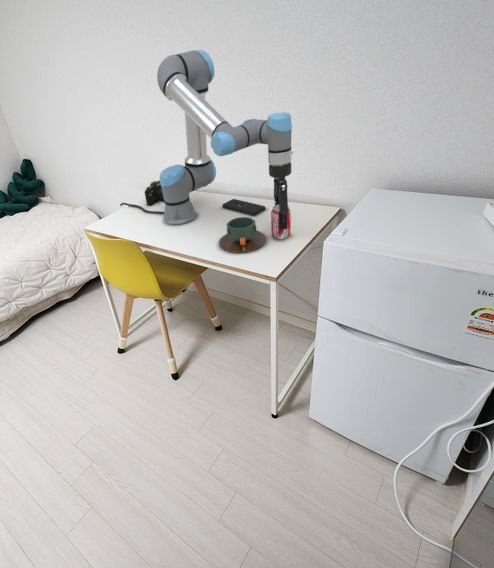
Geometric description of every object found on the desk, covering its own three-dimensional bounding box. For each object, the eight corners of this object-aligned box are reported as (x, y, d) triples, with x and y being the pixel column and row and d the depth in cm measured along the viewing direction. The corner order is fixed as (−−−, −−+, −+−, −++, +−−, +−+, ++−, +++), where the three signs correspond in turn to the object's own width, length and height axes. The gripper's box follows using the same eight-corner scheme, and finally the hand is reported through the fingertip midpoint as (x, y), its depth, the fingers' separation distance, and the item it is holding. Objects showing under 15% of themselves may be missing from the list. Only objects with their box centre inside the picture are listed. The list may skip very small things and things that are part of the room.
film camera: (167, 205, 182) (163, 187, 176) (145, 207, 185) (141, 189, 179) (175, 193, 196) (172, 175, 190) (155, 194, 199) (151, 177, 194)
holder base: (263, 228, 142) (262, 222, 140) (269, 250, 127) (268, 243, 126) (218, 234, 144) (218, 227, 143) (219, 256, 130) (219, 249, 128)
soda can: (291, 240, 131) (291, 210, 124) (271, 241, 132) (270, 211, 126) (290, 231, 136) (290, 202, 130) (271, 232, 138) (270, 204, 131)
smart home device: (233, 198, 170) (265, 205, 156) (233, 201, 171) (266, 209, 157) (221, 204, 166) (253, 212, 152) (221, 207, 167) (253, 216, 153)
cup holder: (227, 230, 139) (226, 219, 136) (255, 226, 137) (254, 215, 135) (228, 246, 128) (226, 234, 125) (258, 243, 126) (257, 231, 123)
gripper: (297, 170, 109) (297, 235, 122) (285, 153, 127) (285, 210, 140) (273, 174, 111) (275, 237, 123) (264, 156, 128) (266, 213, 141)
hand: (280, 223), depth 131 cm, fingers open, 9 cm apart
